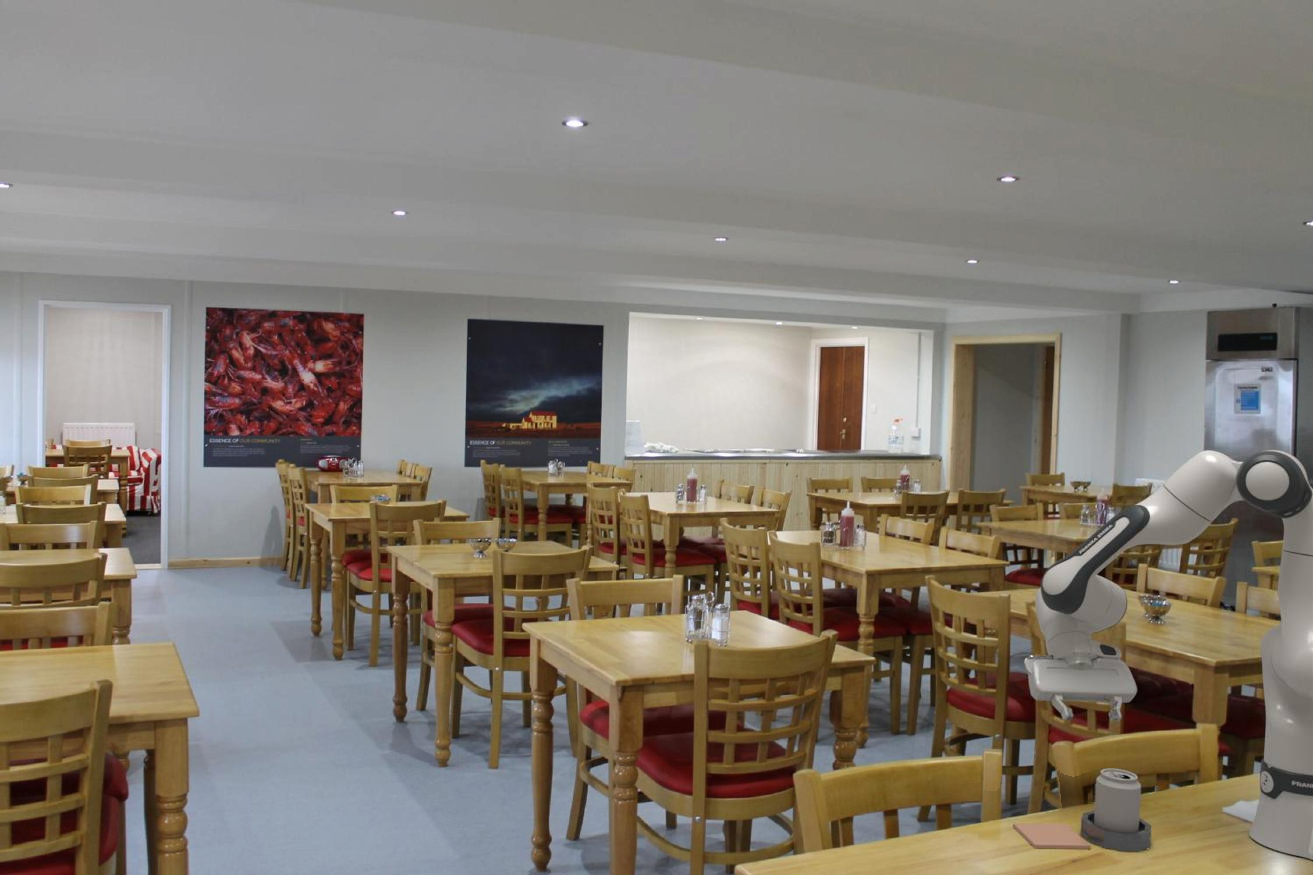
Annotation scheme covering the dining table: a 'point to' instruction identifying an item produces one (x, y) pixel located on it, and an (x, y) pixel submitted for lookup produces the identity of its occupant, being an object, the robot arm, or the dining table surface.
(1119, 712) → the robot arm
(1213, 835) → the dining table surface
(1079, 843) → the tile
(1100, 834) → the ring
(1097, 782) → the can
